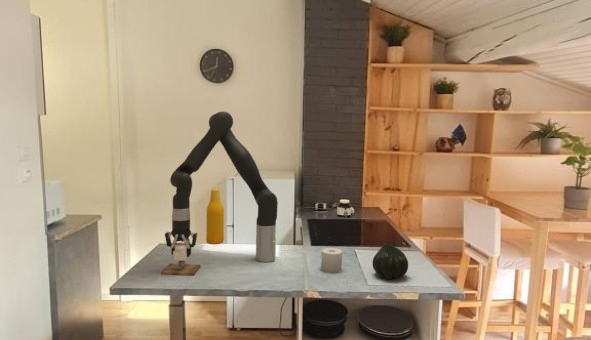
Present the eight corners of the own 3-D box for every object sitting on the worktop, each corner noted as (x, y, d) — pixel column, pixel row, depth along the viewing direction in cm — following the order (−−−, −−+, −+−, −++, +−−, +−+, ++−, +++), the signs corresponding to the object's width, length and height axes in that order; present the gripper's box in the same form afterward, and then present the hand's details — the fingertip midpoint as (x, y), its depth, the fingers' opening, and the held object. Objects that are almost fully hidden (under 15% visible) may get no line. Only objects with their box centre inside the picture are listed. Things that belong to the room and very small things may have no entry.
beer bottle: (215, 238, 230) (215, 187, 227) (227, 242, 225) (227, 189, 221) (202, 242, 222) (202, 189, 219) (214, 245, 217) (214, 191, 214)
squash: (417, 270, 172) (405, 238, 180) (385, 274, 168) (374, 241, 176) (403, 282, 183) (392, 251, 191) (373, 287, 179) (363, 255, 187)
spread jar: (336, 217, 293) (337, 200, 291) (337, 213, 304) (338, 198, 302) (353, 218, 291) (354, 201, 289) (354, 214, 302) (354, 199, 300)
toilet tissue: (327, 262, 196) (328, 244, 195) (345, 270, 185) (346, 252, 184) (312, 265, 191) (312, 247, 190) (329, 274, 180) (330, 255, 179)
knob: (189, 255, 182) (189, 241, 181) (185, 260, 176) (185, 245, 176) (177, 255, 182) (176, 241, 181) (172, 259, 177) (172, 245, 176)
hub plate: (200, 266, 185) (200, 258, 185) (193, 275, 174) (193, 266, 174) (169, 265, 186) (169, 257, 185) (161, 274, 175) (161, 265, 174)
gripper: (200, 216, 181) (199, 253, 183) (167, 215, 181) (167, 252, 183) (195, 220, 173) (195, 259, 175) (161, 219, 174) (161, 258, 176)
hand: (181, 255), depth 179 cm, fingers closed on knob, 5 cm apart
